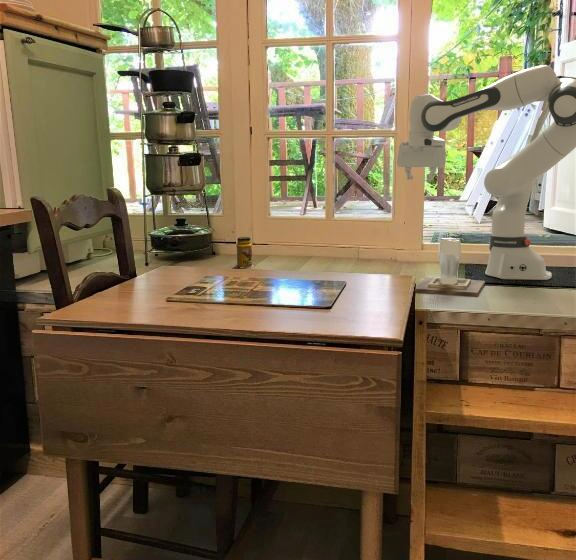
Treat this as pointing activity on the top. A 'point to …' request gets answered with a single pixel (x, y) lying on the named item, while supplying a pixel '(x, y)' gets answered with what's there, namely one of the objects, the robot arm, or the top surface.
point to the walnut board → (450, 287)
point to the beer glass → (449, 260)
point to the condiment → (244, 253)
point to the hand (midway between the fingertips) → (419, 180)
